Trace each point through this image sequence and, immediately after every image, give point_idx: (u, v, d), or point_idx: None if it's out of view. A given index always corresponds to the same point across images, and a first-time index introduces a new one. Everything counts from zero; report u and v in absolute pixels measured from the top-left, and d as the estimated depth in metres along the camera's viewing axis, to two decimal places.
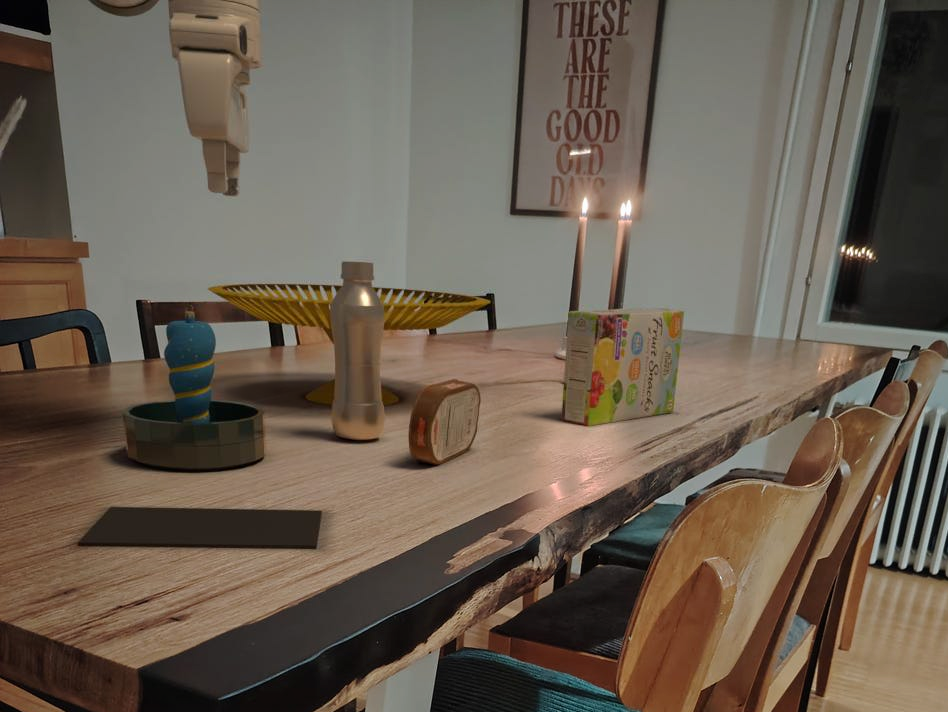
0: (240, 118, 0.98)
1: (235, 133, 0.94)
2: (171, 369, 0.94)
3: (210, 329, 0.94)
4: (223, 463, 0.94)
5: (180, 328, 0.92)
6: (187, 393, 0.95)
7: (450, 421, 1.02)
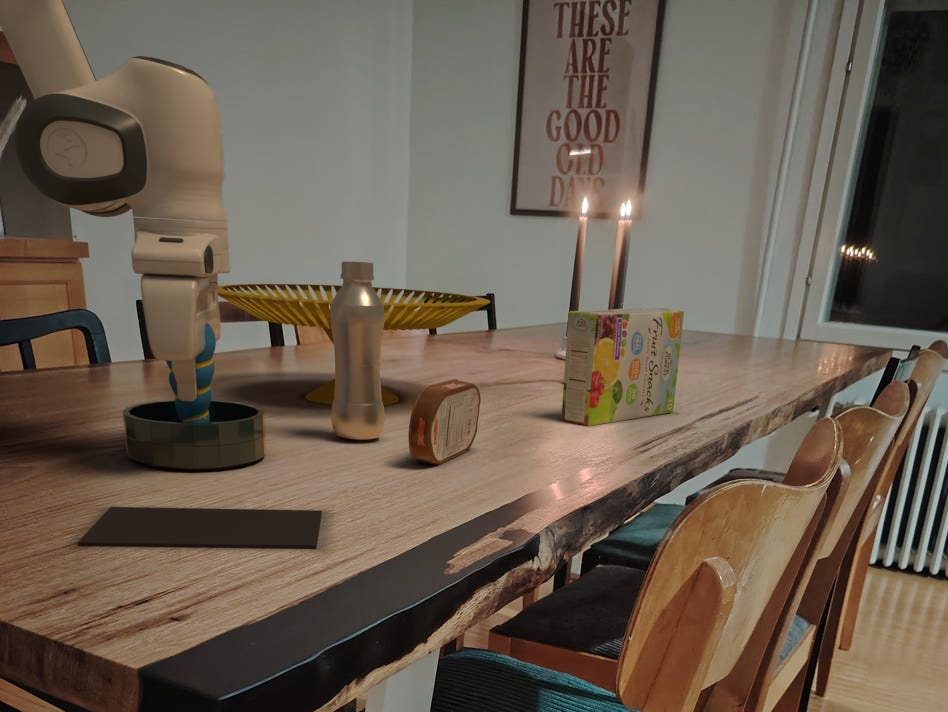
0: (209, 319, 0.96)
1: (202, 343, 0.92)
2: (171, 369, 0.94)
3: (210, 329, 0.94)
4: (223, 463, 0.94)
5: None
6: None
7: (450, 421, 1.02)
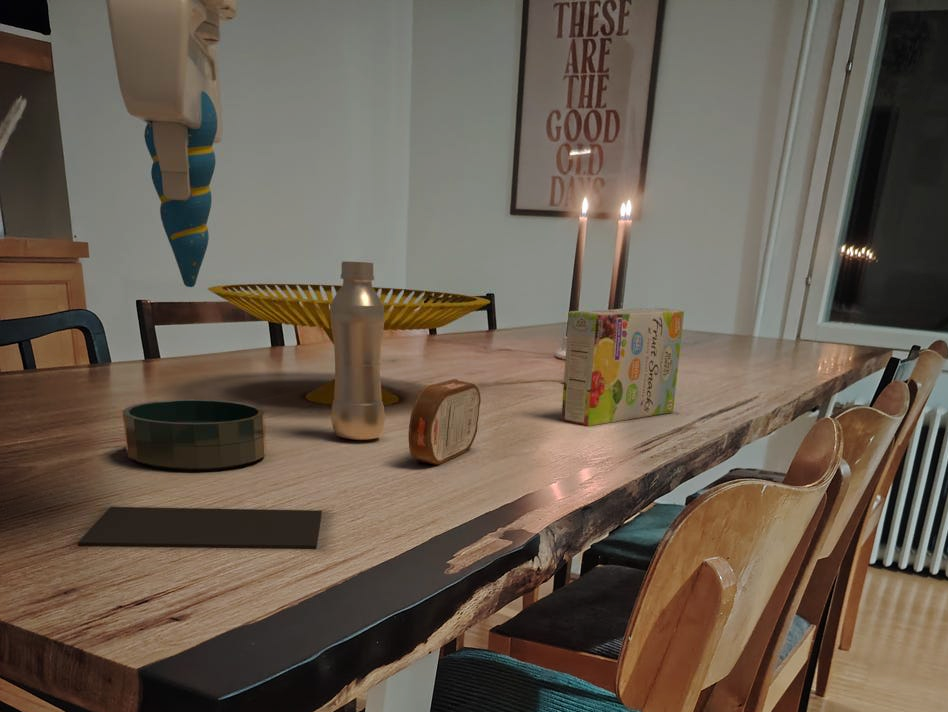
0: (207, 92, 0.68)
1: (198, 112, 0.64)
2: (154, 158, 0.67)
3: (210, 100, 0.66)
4: (223, 463, 0.94)
5: None
6: None
7: (450, 421, 1.02)
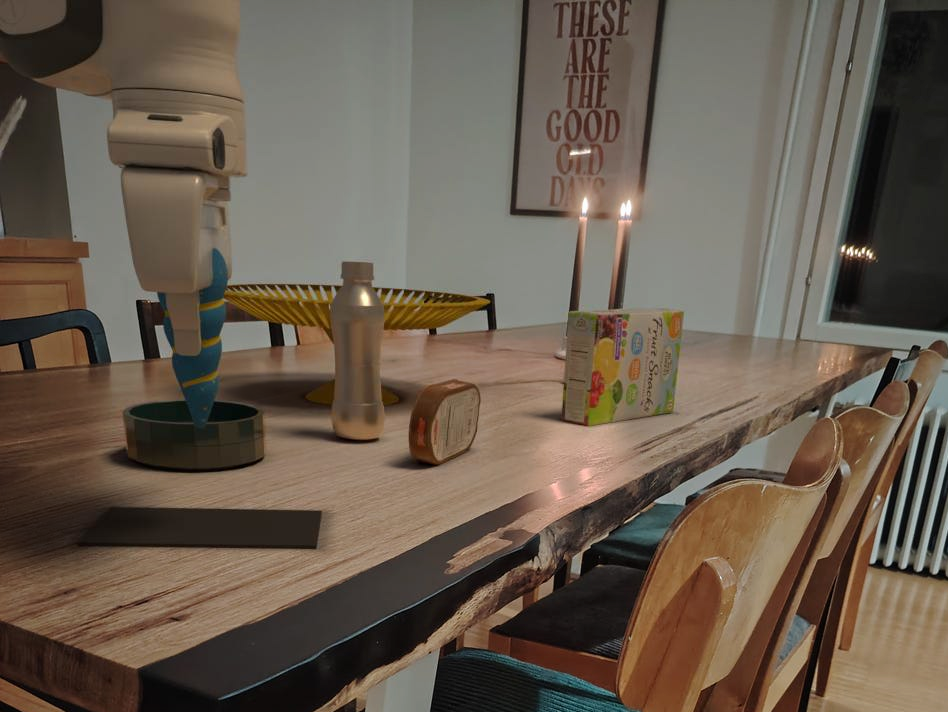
0: (218, 245, 0.70)
1: (209, 274, 0.66)
2: (167, 312, 0.68)
3: (220, 256, 0.68)
4: (223, 463, 0.94)
5: None
6: None
7: (450, 421, 1.02)
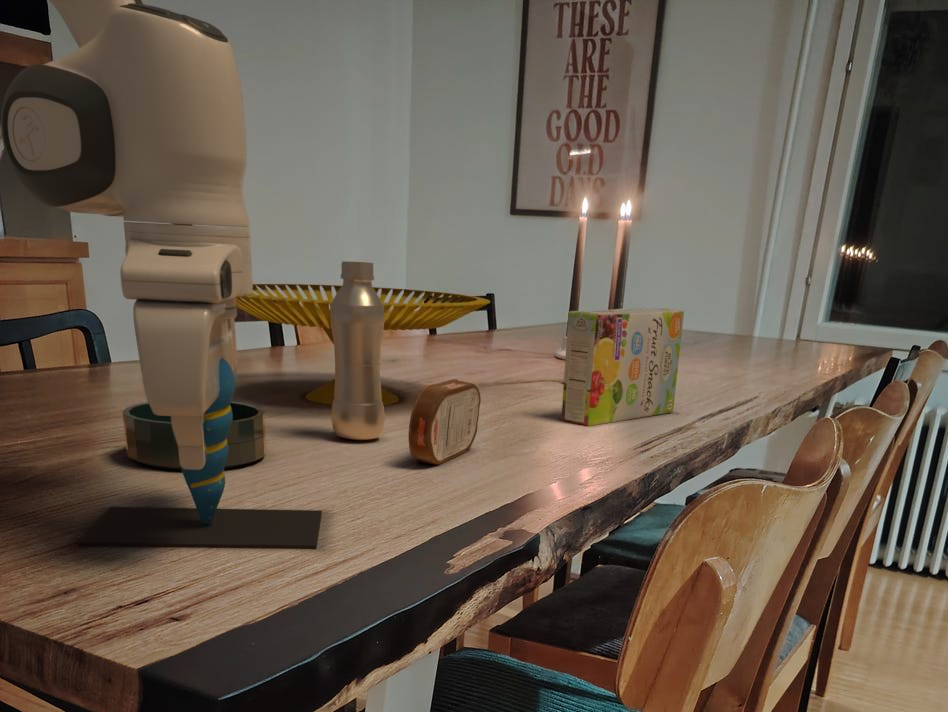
0: (224, 355, 0.73)
1: (216, 389, 0.69)
2: None
3: (228, 367, 0.71)
4: None
5: None
6: None
7: (450, 421, 1.02)
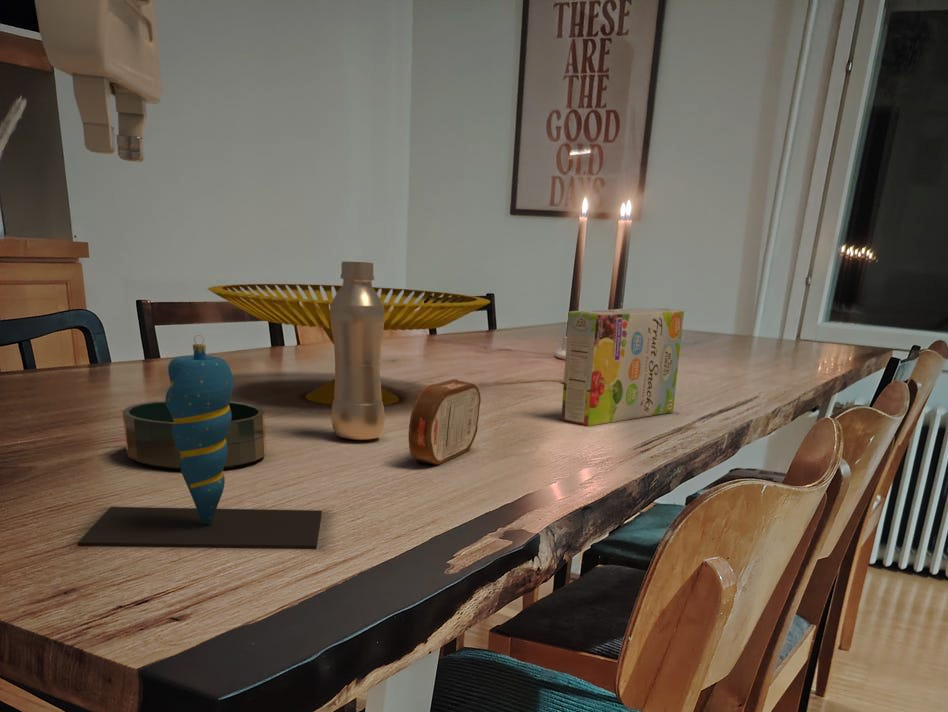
0: (140, 51, 0.71)
1: (125, 69, 0.66)
2: (175, 420, 0.72)
3: (226, 367, 0.71)
4: None
5: (186, 367, 0.69)
6: (196, 451, 0.72)
7: (450, 421, 1.02)
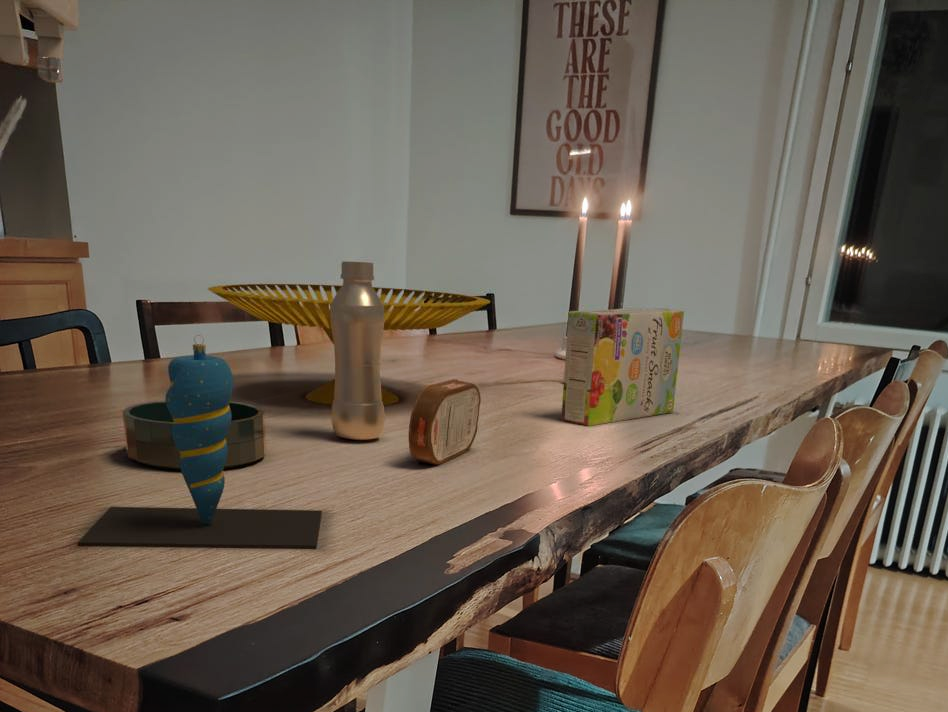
0: None
1: None
2: (175, 420, 0.72)
3: (226, 367, 0.71)
4: None
5: (186, 367, 0.69)
6: (196, 451, 0.72)
7: (450, 421, 1.02)
